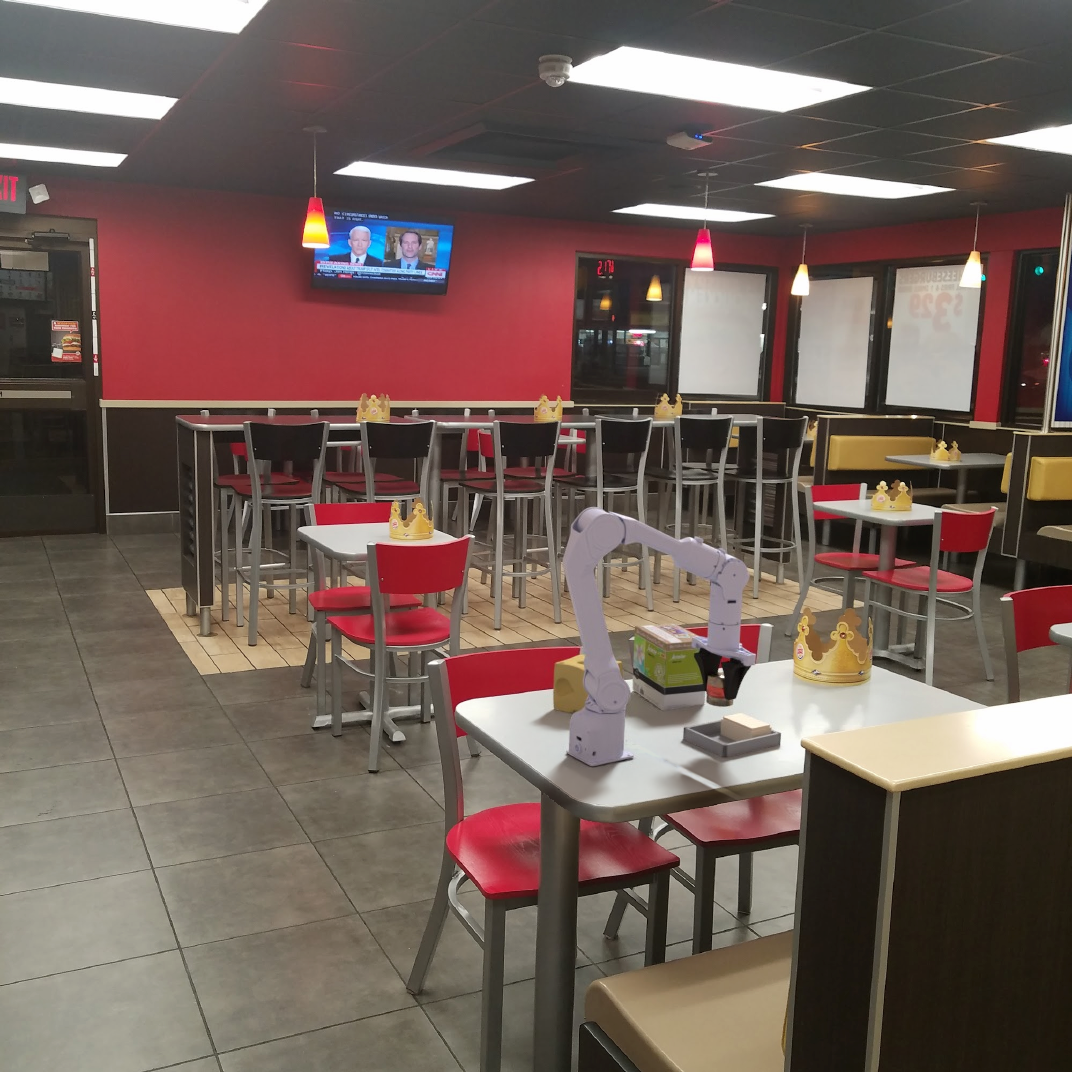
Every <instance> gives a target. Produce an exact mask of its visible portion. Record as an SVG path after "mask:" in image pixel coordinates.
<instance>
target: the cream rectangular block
mask: <svg viewBox="0 0 1072 1072" xmlns="http://www.w3.org/2000/svg"><path fill="white" fill-rule="evenodd" d="M720 720H721V735H723V736H725V737H728V738H730V739H732V740H735V741H742V740H746V739H750V738H755V737H759V736H764V735H768V734H771V729H772V727H771V724H769V723H767V722H764V721H762V720H759V719H757V718H755V717H751V716H749V715H747V714H745V713H741V712H740V713H739V712H738V713H734V714H731V715H730V714H729V715H725V716H723V717H722V718H721V719H720Z"/></svg>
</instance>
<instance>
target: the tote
mask: <svg viewBox="0 0 1072 1072" xmlns="http://www.w3.org/2000/svg"><path fill="white" fill-rule="evenodd" d="M682 733H683V735H682V739H683V740H685V741H686V742H688V743H691V744H693V745H694V746H695V745H696V746H698V747H700V748H702V749H703V750H707V751H708V752H710V753H713V754H714V755H715V754H716V755H717V756H720V757H722V758H723V759H725V758H730V757H733V756H738V755H743V754H748V753H751V752H756V751H760V750H765V749H768V748H773V747H777V746H780V745H781V741H782V740H781V739H782V732H779V731H777V730H774V729H772V728H771V734H768V735H764V736H759V737H755V738H750V739H746V740H742V741H735V740H732V739H730V738H728V737H725V736H723V735H721V719H719V720H713V721H710V722H709V721H708V722H704V723H698V724H695V725H689V726H685V727H683V731H682Z"/></svg>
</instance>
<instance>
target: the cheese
mask: <svg viewBox="0 0 1072 1072" xmlns="http://www.w3.org/2000/svg"><path fill="white" fill-rule="evenodd" d="M584 658H585V655H584V654H583V653H582V654H578V655H575V656H573V657H571V658H567V659H564V660H561V661H557V662H555V663H554V669H553V691H552V692H553V693H552V695H553V696H552V700H553V704H552V705H553V709H554V710H556V711H560V712H564V713H568V714H574V713H575V712H577V711H580V710H581V709H583V708H584V706H585V702H586V699H587V697H588V693H587V692H586V690H585V689H584V686H583V677H584V673H585V668H584V663H583V662H584ZM616 662H617V664H618V667H619V669H620V673H621V676H622V678H623V679H624V671H623V662H622V661H621V660H616Z"/></svg>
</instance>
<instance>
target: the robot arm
mask: <svg viewBox="0 0 1072 1072" xmlns="http://www.w3.org/2000/svg"><path fill="white" fill-rule="evenodd" d="M704 542H705V540H704V539H703V538H701V537H698V536H696V535H695V536H694V538H693V537H690V536H688V537H687V536H686V537H684V538H682V539H681V538H680V539H676V538H674V537H672V536H671V535H668V534H666V533H664V532H662V531H660V530H658V529H656V528H654V527H652V526H649V525H648V524H646V523H644V522H641V521H640V520H637V519H635V518H633V517H630V516H627V515H623V514H620V513H616V512H613V511H608V512H607V511H605V509H602V508H601V507H597V506H591V507H587V508H585V509H584V510H582V511H581V512H580V513H579V515H577V517H576V518H575V519H574V520H573V522H572V523H571V525H570V535H569V538H568V541H567V544H566V547H565V550H564V551H565V552H564V554H563V557H562V567H563V572H564V576H565V580H566V585H567V587H568V593H569V596H570V600H571V604H572V609H573V613H574V617H575V621H576V625H577V630H578V633H579V634H578V635H579V638H580V641H581V642H580V644H581V647H582V650H583V653H584V655H585V658H584V662H583V663H584V668H585V673H584V677H583V686H584V689H585V690H586V692H587V693H588V697H587V699H586V702H585V706H584V708H583V709H581V710H580V711H577V712H575V713H572V715H571V717H570V720H569V733H568V735H569V736H568V741H569V742H568V749H566V752H565V753H566V754H567V755H569V756H571V757H573V758H575V759H577V760H578V761H581V762H582V763H584V764H586V765H588V766H590V767H596V766H600V765H606V764H610V763H614V762H619V761H623V760H629V759H633V758H634V757H635V756H634V754H633V753H632V752H629V751H628V750H625V748H624V747H625V730H626V729H625V726H626V710H627V709H626V708H627V705H628V703H629V702H630V698H631V688H630V686H629V684H628V682H627V681H626V680H625V679H624V677H623V678H622V676H621V673H620V669H619V667H618V664H617V662H616V661H617V660H616V658H615V655H614V653H613V649H612V645H611V639H610V635H609V631H608V628H607V623H606V622H607V621H606V619H605V615H604V610H603V607H602V606H603V605H602V602H601V597H600V594H599V593H600V592H599V588H598V585H597V580H596V576H595V571H594V570H595V568H596V567H597V565H598V564H599V563H600V561H602V559H603V557H605V556H606V555H607V554H609V553H610V552H612V551H613V550H615V549H616V548H617V547H618V546H620V544H623V545H624V546H628V545H631V544H632V543H633V544H634V543H639V544H641V545H644V546H646V547H649V548H651V549H653V550H655V551H658V552H660V553H663V554H666V555H668V556H670V557H671V558H672V561H673V564H674V566H675V567H676V568H679V569H681V570H683V571H685V572H688V573H691V574H693V575H695V576H696V577H699V578H701V579H704V580H707V581H709V582H710V593H709V606H708V609H709V610H708V621H707V622H708V623H707V624H708V625H707V637H705V636H700V635H698V636H697V637H692V647H693V648H699V649H700V651H699V652H698V653H694V658H695V660H696V662H697V664H698V666H699V669H700V672H701V676H702V680H703V685H704V690H705V693H707V681H708V674H709V673H713V672H719V668H720V666H721V670H722V672H723V673H724V680H725V699H726V700H732V699H733V700H736V699H737V697H738V694H739V690H740V687H741V684H742V682H743V680H744V678H745V676H746V675H747V673H748V672H749V670H750V669H751V667H752V666H755V665H756V658H757V654H756V653H753V652H750V651H749V650H747V649H746V648H744V647H743V643H741V642H740V641H741V639H740V638H741V625H742V624H741V622H742V608H743V591H744V588H745V587H746V586H747V584H748V583H749V581H750V577H751V574H749V573H748V571H749V570H748V567H747V565H746V564H745V563H744V561H743V560H741V559H739V558H737V557H735V556H734V555H730V554H728V553H727V551H726V550H725V549H723V548H722V547H719V548H718V549H717V548H716V547H712V546H710V545H708V544H706V543H704ZM722 658H726V659H729V660H725V661H722Z"/></svg>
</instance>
